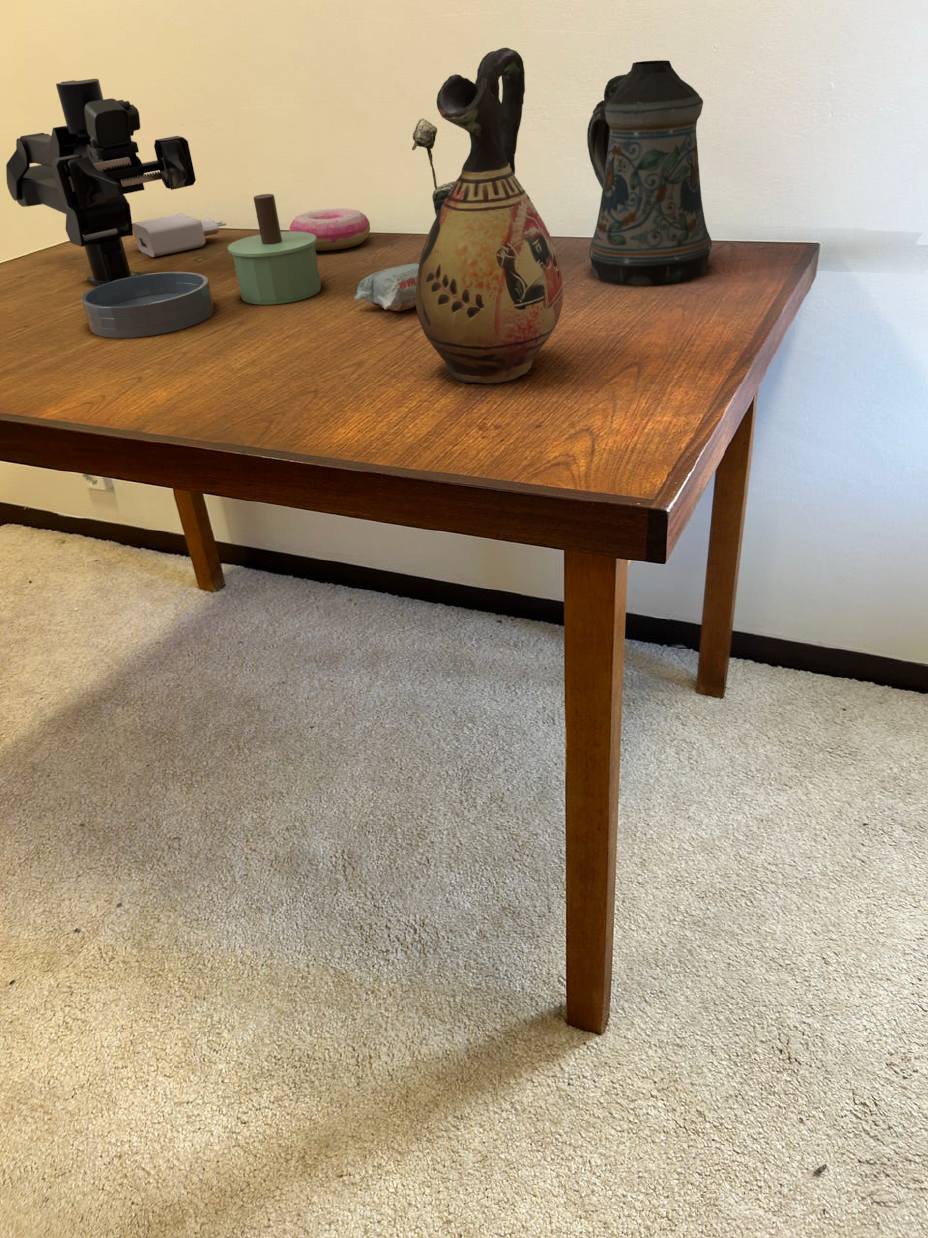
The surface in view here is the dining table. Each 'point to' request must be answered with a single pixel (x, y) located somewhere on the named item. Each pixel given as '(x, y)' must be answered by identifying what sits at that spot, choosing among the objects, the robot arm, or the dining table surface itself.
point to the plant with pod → (426, 139)
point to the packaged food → (390, 288)
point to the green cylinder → (278, 277)
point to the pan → (148, 304)
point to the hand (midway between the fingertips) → (152, 181)
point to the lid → (270, 234)
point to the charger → (173, 234)
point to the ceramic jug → (488, 240)
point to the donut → (333, 227)
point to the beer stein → (648, 179)
